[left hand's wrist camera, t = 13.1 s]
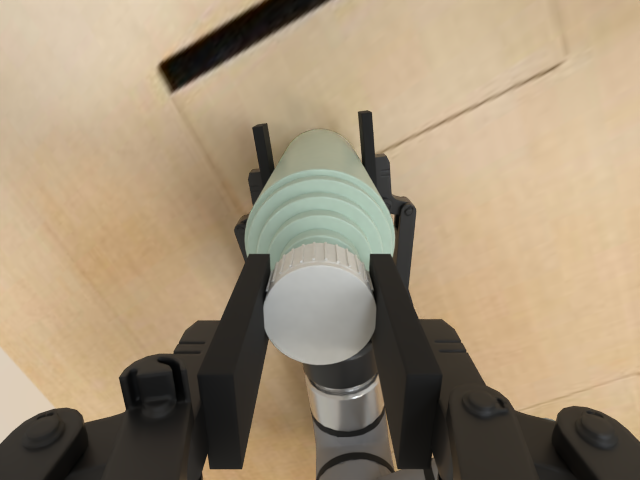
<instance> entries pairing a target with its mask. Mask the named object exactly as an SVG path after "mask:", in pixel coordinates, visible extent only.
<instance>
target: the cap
mask: <svg viewBox="0 0 640 480" xmlns="http://www.w3.org/2000/svg"><path fill="white" fill-rule="evenodd" d="M373 291H374V289H373V285H372V281H371V278H370V274H369V271H366V268H365V265H364V262H361V261H360V260H359V259H358V258H357V255H356V254H355V255H354V254H352V253H351V252H350V251H348V249H347V248H346V249H344V248H342V247H340V246H338V244H335V245H333V244H328V243H327V242H324V243H315V242H313V243H312V244H307V245H304V244H302V246H300V247H298V248H295V249H294V248H293V249H292V250H291V251H290V252H289V253H287V254H286V255H285V254H284V255H283V257H282V259H281V260H280V261H279V262H276V264H275V268H274V270H273V271H272V270H271V273H270V277H269V280H268V284H267V288H266V292H267V293H266V297H265V301H264V305H263V311H264V327H265V331H266V334H267V335H268V337H269V339H270V341H271V342H272V343H273V345H274V346H275V347H276V348H277V349H278V350H279V351H281V352H282V353H283V354H285V355H286V356H288V357H290V358H292V359H294V360H296V361H299V362H302V363H306V364H313V365H327V364H333V363H338V362H341V361H344V360H346V359H348V358H350V357H352V356H353V355H355V354H357V353H358V352H359V351H360V350H361V349H363V347H364V346H365V345H366V344H367V343H368V342H369V340H370V339H371V337H372V335H373V333H374V330H375V324H376V302H375V298H374V294H373Z"/></svg>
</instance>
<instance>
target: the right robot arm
mask: <svg viewBox="0 0 640 480" xmlns="http://www.w3.org/2000/svg"><path fill="white" fill-rule="evenodd" d="M358 118H359V130H360V142H361V154H362V164H363V166H364V168H365V170H366V171H367V173H368V175H369V177H370V178H371V180H372V182H373V184H374V185H375V187H376V189H377V191H378V192H379V194H380V196H381V198H382V199H383V201H384V203H385V205H386V206H387V208H388V210H389V212H390V214H395V216H394V230H395V248H394V253H393V257H392V258H393V261H394V263H395V265H396V268H397V270H398V272H399V274H400V277H401V279H402V281H403V284H404V286H405V288H406V291H407V293H408V295H409V298H410V300H411V302H412V299H411V296H410V293H409V290H408V287H409V277H410V267H411V257H412V248H413V238H414V228H415V218H416V208H415V206H414V205H413V204H412V203H411V202H410V200H409V199H408V198H407V197H398V196H395V195H392V193H391V178H390V162H389V160H388V158H387V156H386V155H385V154H376V155H375V150H374V136H373V122H372V112H370V111H368V110H367V111H359V112H358ZM252 129H253V134H254V140H255V145H256V151H257V157H258V162H259V168H260V169H254V170H252V171H251V172H250V173H249V178H248V181H249V186H250V191H251V197H252V202H253V206H254V204H255V202H256V201H257V199H258V197H259V195H260V194H261V192H262V190H263V188H264V187H265V185H266V183H267V181H268V180H269V178H270V176H271V175H272V173H273V171H274V169H275V168H274V162H273V156H272V150H271V144H270V138H269V132H268V126H267V123H266V124H258V125H256V126H254V127H252ZM248 217H249V214H248V215H244V216H242V217H241V218H240V220H239V222H238V223H237V225H236V227H235V229H234V231H235V235H236V238H237V241H238V243H239V246H240V249H241V252H242V254H243V257H244V260H245V262H246V260H247V254H246V249H245V229H246V224H247V220H248ZM412 305H413V303H412ZM303 368H304V372H305V381H306V386H307V392H308V397H309V402H310V409H311V414H312V418H313V425H314V433H315V441H316V480H437V476H438V469H437V465H436V462H435V459H434V458H431V465H430V469H401V470H399V471H396V472H395V471H394V466H393V461H392V456H391V451H390V446H389V440H388V432H387V423H386V414H385V405H384V400H383V395H382V390H381V385H380V380H379V375H378V370H377V366H376V361H375V356H374V351H373V346H372V341H371V339H370V340H369V342H368V343H367V344H366V345H365V346H364V347H363V349H361V350H360V351H359V352H358V353H357V354H355V355H353V356H352V357H350V358H348V359H346V360H344V361H341V362H338V363H333V364H327V365H313V364H306V363H303ZM544 419H548V418H544ZM548 420H552V419H548ZM552 421H554V420H552Z"/></svg>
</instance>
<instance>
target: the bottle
mask: <svg viewBox="0 0 640 480" xmlns="http://www.w3.org/2000/svg"><path fill="white" fill-rule="evenodd" d="M313 242H315V243H324V242H327V243H328V244H333V245H335V244H338V246H340V247H342V248H344V249H346V248H347V249H348V251H350V252H351V253H352V254H354V255H355V254H356V255H357V258H358V259H359V260H360V261H361V262H364V265H365V268H366V271H369V262H370V254H391V256H392V257H393V253H394V248H395V230H394V225H393V220H392V217H391V215H390V212H389V210H388V208H387V206H386V205H385V203H384V201H383V199H382V198H381V196H380V194H379V192H378V191H377V189H376V187H375V185H374V184H373V182H372V180H371V178H370V177H369V175H368V173H367V171H366V170H365V168H364V166H363V164H362V163H361V161H360V159H359V157H358V156H357V154H356V152H355V151H354V149H353V147H352V146H351V144H350V143H349V142H348V141H347V140H346V139H345V138H344V137H343V136H341V135H340V134H338V133H336V132H333V131H330V130H325V129H315V130H310V131H306V132H304V133H302V134H300V135H299V136H297V137H296V138H295V139H294V140H293V141H292V142H291V143H290V144H289V146H288V147H287V149H286V150H285V152H284V154H283V155H282V157H281V159H280V161H279V162H278V164H277V166H276V168H275V169H274V171H273V173H272V175H271V176H270V178H269V180H268V181H267V183H266V185H265V187H264V188H263V190H262V192H261V194H260V195H259V197H258V199H257V201H256V202H255V204H254V206H253V208H252V210H251V212H250V214H249V217H248V220H247V224H246V229H245V249H246V254H247V258H248V255H249V254H270V267H271V270H272V271H273V270H274V268H275V264H276V262H279V261H280V260H281V259H282V257H283V255H284V254H285V255H286V254H287V253H289V252H290V251H291V250H292V249H293V248H294V249H295V248H298V247H300V246H302V244H304V245H307V244H312V243H313Z"/></svg>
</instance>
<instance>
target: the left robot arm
mask: <svg viewBox="0 0 640 480" xmlns="http://www.w3.org/2000/svg"><path fill="white" fill-rule="evenodd" d="M270 273H271V267H270V254H249V255H248V258H247V260H246V262H245V265H244V267H243V269H242V272H241V274H240V276H239V279H238V281H237V283H236V285H235V288H234V290H233V292H232V295H231V297H230V299H229V302H228V304H227V306H226V309H225V311H224V313H223V316H222V318H221V320H220V321H197V322H195V323H194V324H193V325H192V326H190V327H189V328H188V329H187V330H185V332H184V334H183V336H182V338H181V339H180V341H179V344H178V345H177V347H176V348H175V350H174V354H156V355H151V356H147V357H145V358H142V359H140V360H138V361H135V362H134V363H133V364H131V365H130V366H128V367H127V368H126V369H125V370H124V371H123V373H122V374H121V375H120V377H119V380H120V384H121V389H122V393H123V398H124V402H125V407H126V411H125V412H123V413H121V414H118V415H115V416H111V417H107V418H103V419H99V420H95V421H91V422H86V423H84V420H83V416H82V415H81V414H80V413H79V412H78V411H77V410H75V409H70V408H58V409H52V410H49V411H46V412H43V413H40V414H38V415H36V416H34V417H32V418H30V419H28V420H26V421H25V422H23V423H22V424H21V425H20V426H19V427H17V428H16V429H15V430H14V431H12V433H10V435H9V436H8V437H7V438H6V439H5V440H4V441H3V442H2V443H1V444H0V480H203V476H202V470H203V467H204V463H205V460H206V457H207V454H208V460H209V467H210V469H242V467H243V462H244V457H245V452H246V447H247V442H248V438H249V433H250V428H251V423H252V418H253V413H254V408H255V403H256V399H257V394H258V389H259V384H260V379H261V374H262V369H263V364H264V360H265V355H266V350H267V345H268V340H269V337H268V335H267V334H266V331H265V327H264V311H263V305H264V301H265V297H266V293H267V292H266V288H267V284H268V280H269V277H270ZM369 274H370V278H371V281H372V285H373V289H374V291H373V294H374V298H375V302H376V324H375V330H374V333H373V335H372V337H371V341H372V346H373V351H374V356H375V361H376V366H377V370H378V375H379V380H380V385H381V390H382V395H383V400H384V405H385V410H386V414H387V419H388V424H389V429H390V434H391V439H392V444H393V449H394V453H395V458H396V463H397V468H398V469H430V465H431V458H432V453H433V456H434V459H435V462H436V465H437V469H438V476H437V480H640V442H639V441H638V440H637V439H636V438H635V437H634V436H633V434H632V433H631V432H630V431H629V430H628V429H626V428H625V427H624V426H623V425H621V424H620V423H619V422H618V421H617V420H615V419H613V418H611V417H610V416H608V415H606V414H604V413H602V412H600V411H596V410H593V409H590V408H587V407H578V406H571V407H567V408H563V409H562V410H561V411H560V412H559V413H558V415H557V419H556V421H552V420H548V419H544V418H539V417H535V416H531V415H527V414H524V413H521V412H518V411H516V410H514V408H513V406H512V405H511V403H510V402H509V400H508V399H507V398H506V397H504V396H503V395H502V394H501V393H500V392H498V391H496V390H494V389H492V388H490V387H488V386H486V384H485V383H484V381H483V379H482V377H481V376H480V374H479V372H478V370H477V368H476V367H475V365H474V363H473V361H472V360H471V358H470V356H469V354H468V353H466V349H465V347H464V345H463V344H462V343H461V340H460V338H459V336H458V335H457V333H456V331H455V329H454V328H452V327H451V326H450V325H448V324H447V323H446V322H445V321H443V320H442V319H418V316H417V314H416V312H415V309H414V307H413V305H412V302H411V300H410V298H409V295H408V293H407V291H406V288H405V286H404V284H403V281H402V279H401V277H400V274H399V272H398V270H397V268H396V265H395V263H394V261H393V258H392V256H391V254H370V262H369Z"/></svg>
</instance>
